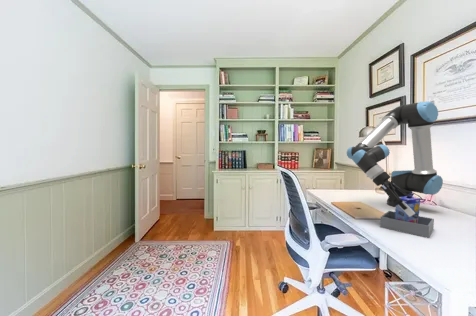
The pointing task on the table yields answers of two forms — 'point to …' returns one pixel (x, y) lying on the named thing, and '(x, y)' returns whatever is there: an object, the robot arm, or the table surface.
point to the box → (408, 225)
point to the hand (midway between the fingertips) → (414, 212)
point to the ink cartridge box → (413, 204)
